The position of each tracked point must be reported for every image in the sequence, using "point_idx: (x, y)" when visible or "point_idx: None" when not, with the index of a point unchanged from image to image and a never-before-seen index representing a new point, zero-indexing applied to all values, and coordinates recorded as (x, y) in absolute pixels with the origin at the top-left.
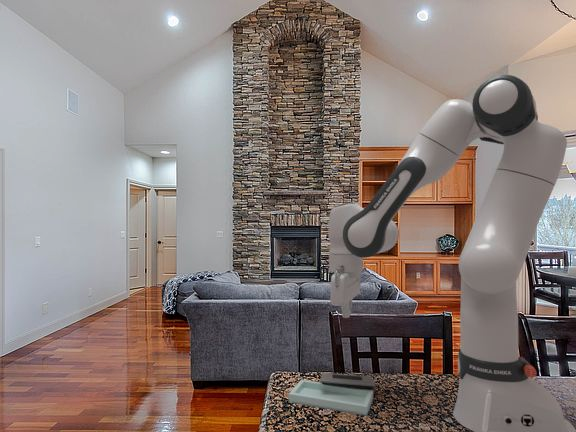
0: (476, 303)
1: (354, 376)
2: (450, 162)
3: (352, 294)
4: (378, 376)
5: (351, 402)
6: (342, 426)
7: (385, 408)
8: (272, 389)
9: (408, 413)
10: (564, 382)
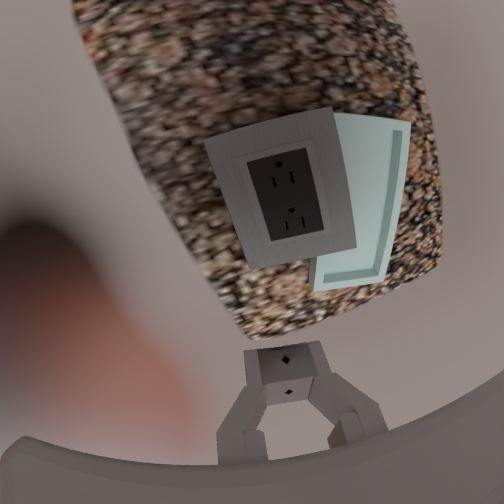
0: None
1: (259, 181)
2: None
3: (351, 487)
4: (152, 130)
5: (401, 156)
6: (436, 160)
7: (356, 80)
8: (330, 316)
9: (359, 33)
10: None
